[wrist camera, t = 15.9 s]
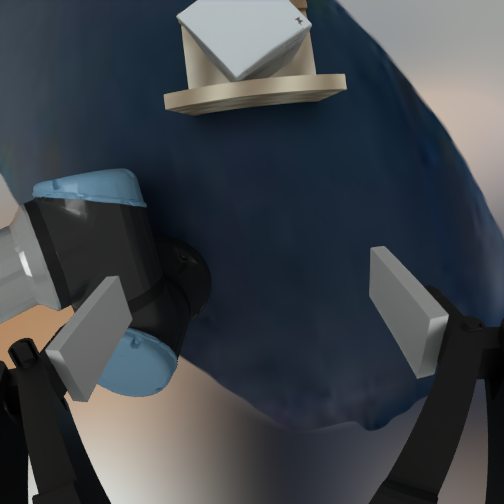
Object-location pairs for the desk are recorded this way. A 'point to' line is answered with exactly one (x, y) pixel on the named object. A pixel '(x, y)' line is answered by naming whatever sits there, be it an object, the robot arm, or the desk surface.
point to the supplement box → (246, 35)
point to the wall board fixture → (250, 82)
